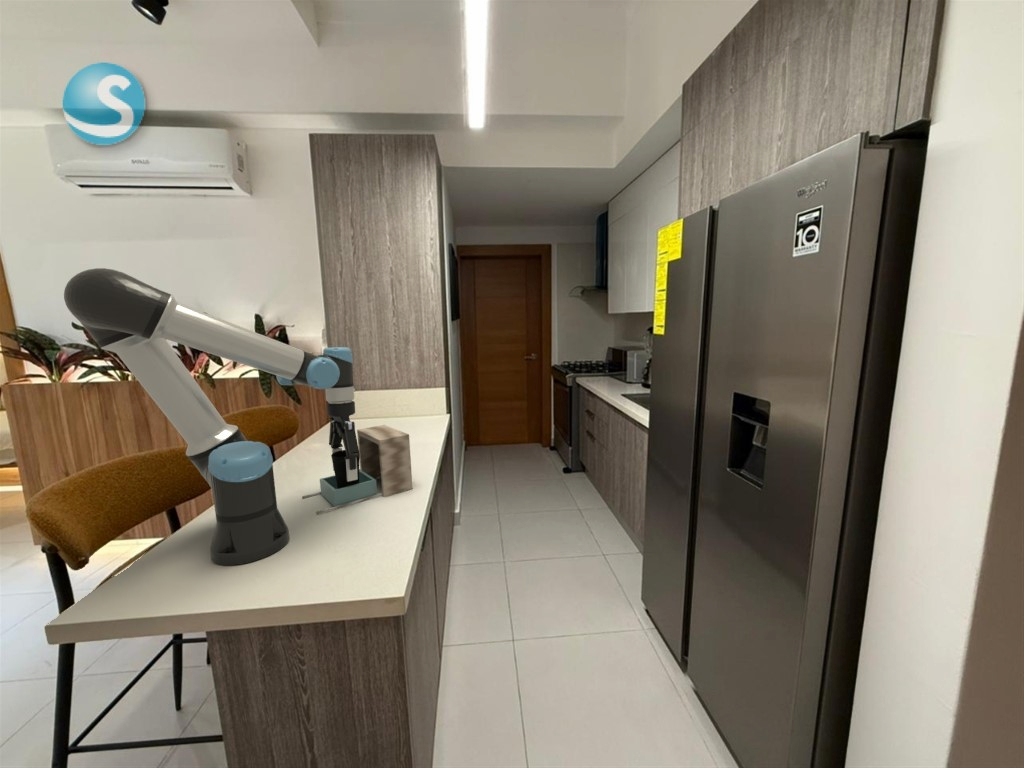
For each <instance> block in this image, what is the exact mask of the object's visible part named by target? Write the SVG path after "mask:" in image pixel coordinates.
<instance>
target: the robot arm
mask: <svg viewBox="0 0 1024 768" xmlns="http://www.w3.org/2000/svg"><path fill="white" fill-rule="evenodd" d="M63 291H64V292H63V299H64V302H65V306H66V308H67V310H69V312H70V313H71V315H72V316H73V317H75V319H77V321H78V322H80V324H81V325H82V326H83V328H84V329H85V331H86V332H88V334H89V335H90V336H91V338H92V339H93V341H94V342H95V343H96V344H97V345H98V346H99V347H100V349H101V350H105V351H108V352H112V353H114V354H116V355H117V356H118V357H119V359H120V360H121V361H122V362H123V364H124V365H125V366H126V368H128V370H129V371H130V373H131V374H132V375H133V377H135V379H136V380H137V382H139V384H140V385H141V387H142V388H143V389H144V390H145V391H146V393H147V394H148V396H149V397H150V398H151V399H152V400H153V402H154V403H155V405H156V406H157V407H158V408H159V409H160V411H161V412H162V413H163V414H164V416H165V417H166V418H167V420H168V421H169V422H170V424H171V425H172V426H173V427H174V429H176V431H177V432H178V433H179V434H180V437H182V439H183V440H184V441H185V442H186V444H187V448H186V451H185V456H186V457H187V458H188V459H189V460H190V462H191V463H192V464H193V465H194V467H195V468H196V469H197V471H198V472H199V473H200V474H201V477H203V479H204V480H205V481H206V482H207V483H208V485H209V487H210V488H211V491H212V497H213V504H214V512H215V519H216V522H215V523H216V524H215V528H214V531H213V535H212V538H211V542H210V543H211V544H210V549H209V552H210V558H211V561H212V562H213V563H215V564H217V565H221V566H235V565H236V566H237V565H243V564H248V563H252V562H255V561H259V560H261V559H263V558H267V557H269V556H271V555H273V554H275V553H276V552H278V551H280V550H281V549H282V548H284V547H285V546H286V545H287V544H288V542H289V541H290V533H289V531H290V530H289V528H288V525H287V523H286V521H285V520H284V518H283V516H282V515H281V513H280V510H279V508H278V502H277V491H276V483H275V475H274V474H275V473H274V466H273V463H274V458H273V455H272V452H271V448H270V447H269V446H268V444H267V443H263V442H261V441H252V440H248V439H247V438H246V437H245V435H244V434H243V432H242V431H241V429H240V428H239V427H238V425H236V424H235V425H234V424H228V423H227V422H226V421H225V420H224V418H223V417H222V415H221V414H220V413H219V411H218V410H217V409H216V407H215V405H213V403H212V402H211V401H210V399H209V398H208V396H207V395H206V393H205V392H204V390H203V389H202V388H201V386H200V385H199V384H198V382H197V381H196V379H195V378H194V377H193V375H192V374H191V373H190V371H189V370H188V368H187V367H186V366H185V364H184V363H183V361H182V360H181V358H179V356H178V354H177V353H176V352H175V350H174V349H173V348H172V346H171V345H170V344H169V342H168V341H171V342H174V343H177V344H180V345H182V346H185V347H188V348H192V349H195V350H198V351H202V352H205V353H208V354H211V355H214V356H216V357H220V358H222V359H225V360H228V361H232V362H235V363H238V364H241V365H244V366H247V367H250V368H253V369H255V370H260V371H262V372H266V373H269V374H271V375H275V377H276V381H277V383H278V384H279V385H281V386H293V385H302V386H306V387H311V388H313V389H316V390H325V401H327V403H326V415H327V416H328V417H329V437H328V445H329V446H330V448H331V455H332V454H333V453H335V452H337V451H341V450H343V447H344V450H345V451H346V455H347V456H346V457H345V460H346V471H347V481H353V480H357V479H358V476H357V458H356V457H359V456H360V454H359V447H358V437H357V435H356V434H357V433H356V424H355V421H351V420H350V416H352V415H353V416H354V415H355V414H356V403H355V401H354V399H355V392H356V388H354V387H355V386H354V366H353V365H354V362H353V360H354V359H353V355H352V350H351V348H350V347H345V346H343V347H342V346H341V347H325V348H323V350H322V354H320V355H319V354H318V355H316V354H312V353H311V352H310V353H309V352H308V351H304V350H302V349H299V348H297V347H294V346H292V345H289V344H287V343H284V342H282V341H279V340H277V339H274V338H272V337H269V336H266V335H263V334H261V333H258V332H255V331H253V330H251V329H248V328H244V327H242V326H240V325H237V324H234V323H232V322H229V321H227V320H225V319H221V318H219V317H216V316H214V315H211V314H208V313H206V312H203V311H201V310H198V309H195V308H192V307H190V306H188V305H185V304H182V303H180V302H178V301H177V300H176V299H175V297H174V295H173V294H171V293H169V292H166V291H163V290H161V289H158V288H157V287H154V286H152V285H150V284H147V283H145V282H143V281H141V280H139V279H137V278H135V277H133V276H131V275H130V274H126V273H125V272H122V271H119V270H115V269H111V268H106V267H105V268H103V267H101V268H100V267H99V268H97V267H96V268H90V269H86V270H85V269H84V270H83V271H81V272H79V273H76V274H75V275H73V276H72V277H71V278H70V280H69V281H67V283H66V285H65V287H64V290H63ZM167 340H168V341H167ZM332 471H333V472H334V467H333V466H332Z"/></svg>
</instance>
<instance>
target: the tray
mask: <svg viewBox="0 0 1024 768" xmlns="http://www.w3.org/2000/svg"><path fill="white" fill-rule="evenodd" d="M319 486H320V492H321V494H320V495H321V496H323V498H324V499H325V500H327V501H328V502H329V503H330V504H331V505H332V507H335V506H339V505H342V504H346V503H349V502H352V501H356V500H359V499H363V498H366V497H370V496H373V495H377V494H378V489H377V488H378V487H377V479H376V480H375V479H374V478H372V477H371V476H369V475H368V474H366V473H365V472H363V471H362V470H360V468H359V484H355V485H351V486H347V487H344V488H340V489H338V487H337V482H336V477H335V474H334V475H330V476H326V477H322V478H319Z"/></svg>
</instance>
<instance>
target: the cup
mask: <svg viewBox="0 0 1024 768" xmlns="http://www.w3.org/2000/svg"><path fill="white" fill-rule="evenodd" d="M346 456H347V455H346V451H345V449H342V450H341V451H337V452H335V453H333V454H332V453H331V457H330V458H331V462H332V468H333V467H334V471H333V472H334V475H335V477H336V482H337V487H338V489H340V488H344V487H347V486H351V485H355V484H359V469H360V459H359V457H356V458H357V476H358V479H357V480H353V481H347V471H346V460H345V457H346Z"/></svg>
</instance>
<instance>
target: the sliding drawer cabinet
mask: <svg viewBox="0 0 1024 768" xmlns="http://www.w3.org/2000/svg"><path fill="white" fill-rule="evenodd" d="M356 432H357V433H356V434H357V435H356V436H357V443H358V449H359V454H360V456H359V469H360V470H362V471H363V472H365V473H366V474H368V475H369V476H371V477H372V478H374V479H375V480H376V481H377V480H380V481H381V491H382V492H380V493H377V495H373V496H370V497H366V498H363V499H359V500H356V501H352V502H349V503H346V504H342V505H339V506H335V507H334V506H332V507H329V508H324V509H321V510H318V511H316V513H315V514H316V515H321V514H325V513H328V512H333V511H334V510H335V511H336V510H338V509H341V508H345V507H348V506H349V507H350V506H352V505H355V504H359V503H362V502H367V501H369V500H371V499H373V500H374V499H376V498H379V497H383V498H386V497H391V496H394V495H396V494H400V493H404V492H407V491H410V490H413V488H414V487H413V475H412V461H411V460H412V458H411V443H410V442H411V441H410V434H408V433H406V432H404V431H401V430H398V429H397V428H394V427H391V426H388V425H386V424H381V425H376V426H371V427H365V428H359V429H356ZM320 495H322V494H321V491H318V492H313V493H309V494H306V495H302V496H301V498H302V499H308V498H311V497H315V496H320Z"/></svg>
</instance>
